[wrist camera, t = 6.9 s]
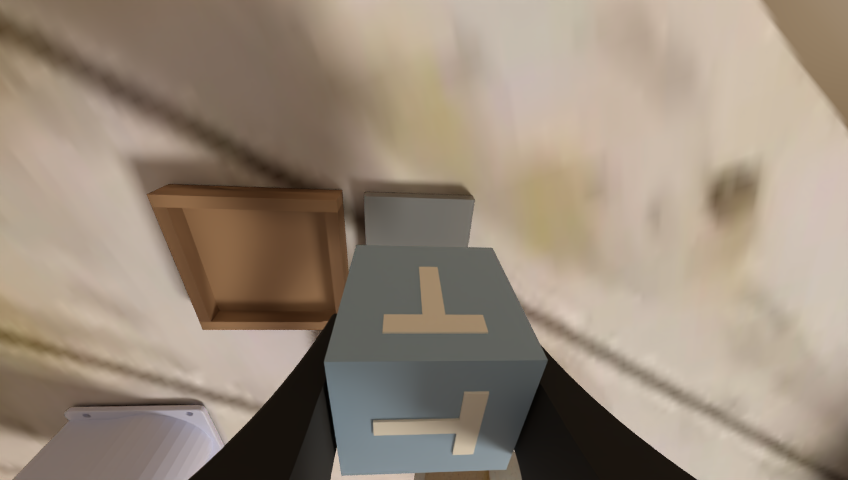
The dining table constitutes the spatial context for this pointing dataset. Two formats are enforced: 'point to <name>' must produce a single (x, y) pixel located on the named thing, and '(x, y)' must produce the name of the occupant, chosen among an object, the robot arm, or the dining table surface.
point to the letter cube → (429, 362)
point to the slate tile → (417, 219)
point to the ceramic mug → (476, 473)
